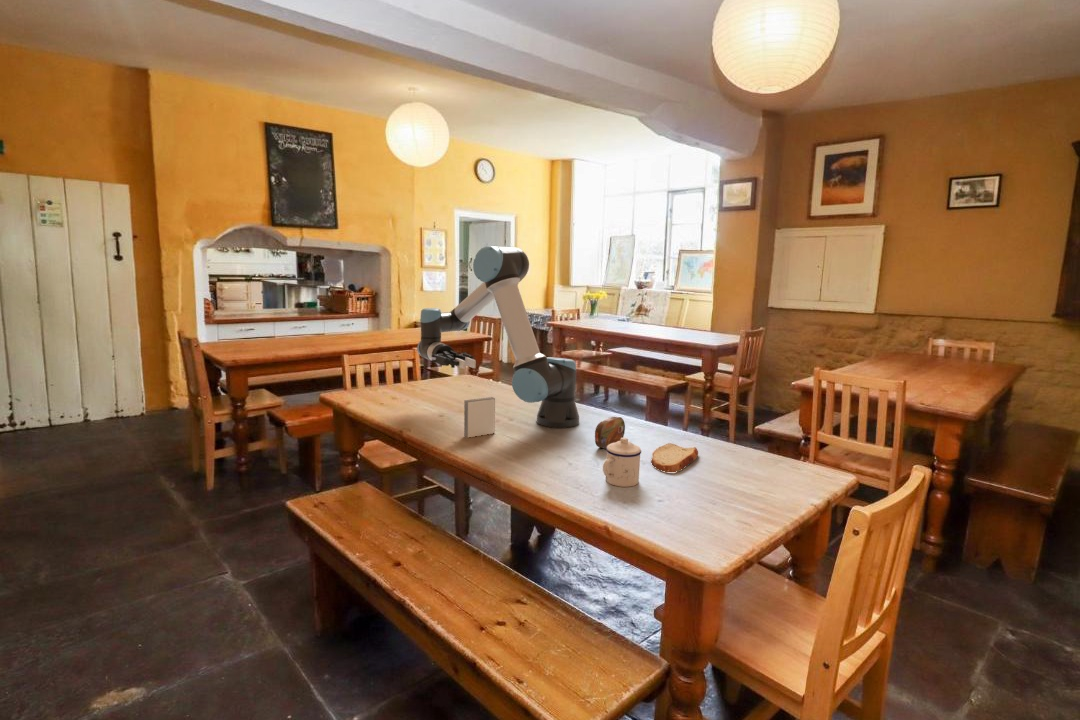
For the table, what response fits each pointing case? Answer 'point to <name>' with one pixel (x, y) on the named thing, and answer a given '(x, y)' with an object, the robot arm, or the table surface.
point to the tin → (609, 431)
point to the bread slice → (673, 457)
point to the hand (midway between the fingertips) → (469, 364)
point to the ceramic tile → (479, 417)
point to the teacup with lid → (622, 463)
